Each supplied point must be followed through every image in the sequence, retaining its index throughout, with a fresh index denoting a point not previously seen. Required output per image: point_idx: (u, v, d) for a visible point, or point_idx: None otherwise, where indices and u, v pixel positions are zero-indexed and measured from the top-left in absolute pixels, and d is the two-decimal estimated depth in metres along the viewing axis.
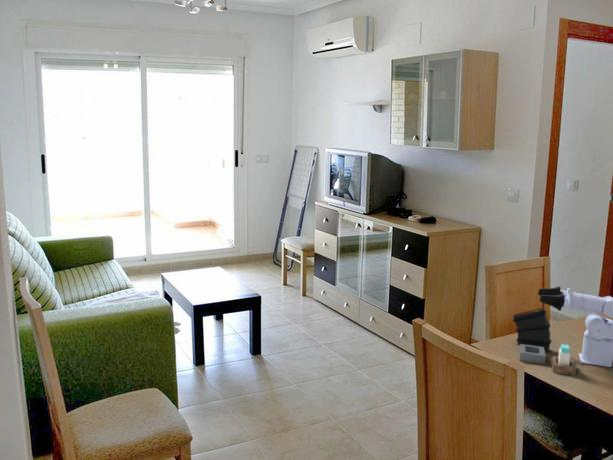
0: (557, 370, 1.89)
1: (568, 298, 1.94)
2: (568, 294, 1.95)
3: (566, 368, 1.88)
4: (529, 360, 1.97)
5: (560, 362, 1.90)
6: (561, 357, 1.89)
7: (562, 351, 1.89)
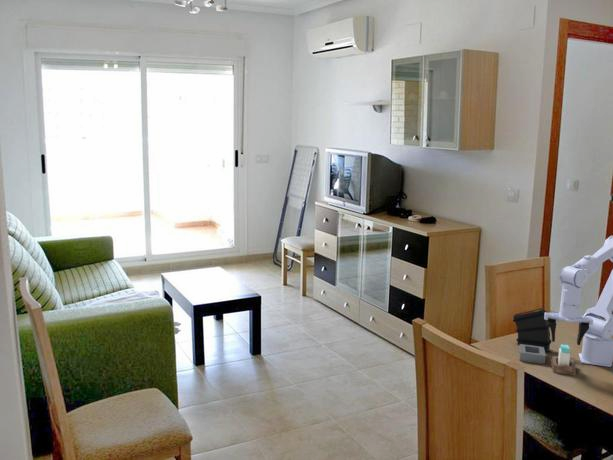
0: (557, 370, 1.89)
1: (583, 320, 1.85)
2: (576, 320, 1.85)
3: (566, 368, 1.88)
4: (529, 360, 1.97)
5: (560, 362, 1.90)
6: (561, 357, 1.89)
7: (562, 351, 1.89)
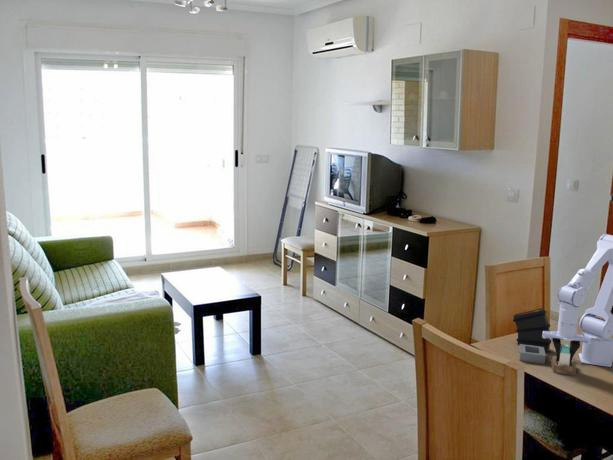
0: (557, 370, 1.89)
1: (580, 339, 1.87)
2: (574, 339, 1.87)
3: (566, 368, 1.88)
4: (529, 360, 1.97)
5: (560, 362, 1.90)
6: (561, 357, 1.89)
7: (562, 351, 1.89)
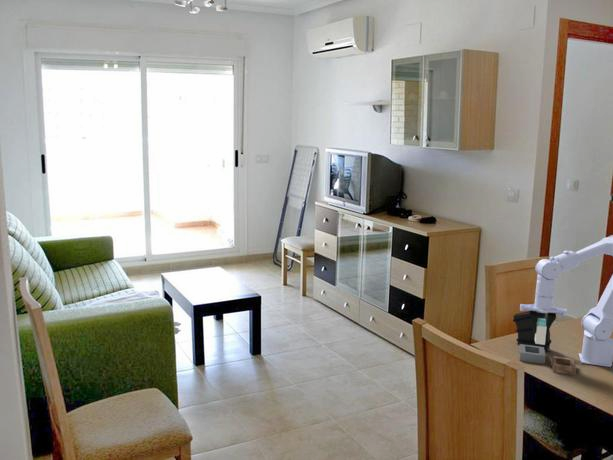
0: (557, 370, 1.89)
1: (556, 311, 1.92)
2: (550, 311, 1.92)
3: (566, 368, 1.88)
4: (529, 360, 1.97)
5: (537, 335, 1.95)
6: (538, 330, 1.95)
7: (539, 324, 1.94)
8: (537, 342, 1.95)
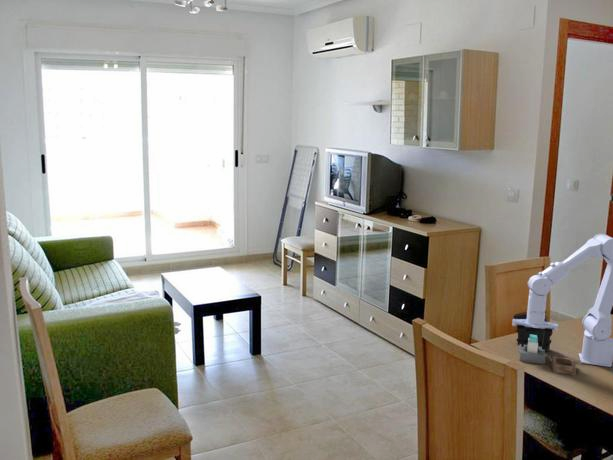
0: (557, 370, 1.89)
1: (548, 326, 1.95)
2: (541, 326, 1.95)
3: (566, 368, 1.88)
4: (529, 360, 1.97)
5: (528, 351, 1.98)
6: (529, 346, 1.98)
7: (530, 341, 1.98)
8: None
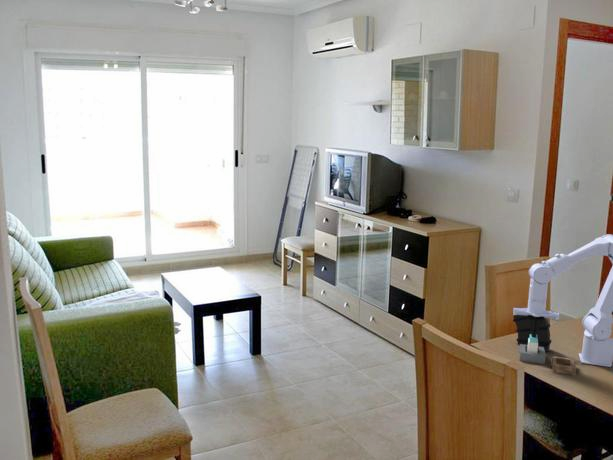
0: (557, 370, 1.89)
1: (549, 315, 1.94)
2: (543, 315, 1.94)
3: (566, 368, 1.88)
4: (529, 360, 1.97)
5: (528, 351, 1.98)
6: (529, 346, 1.98)
7: (530, 341, 1.98)
8: None
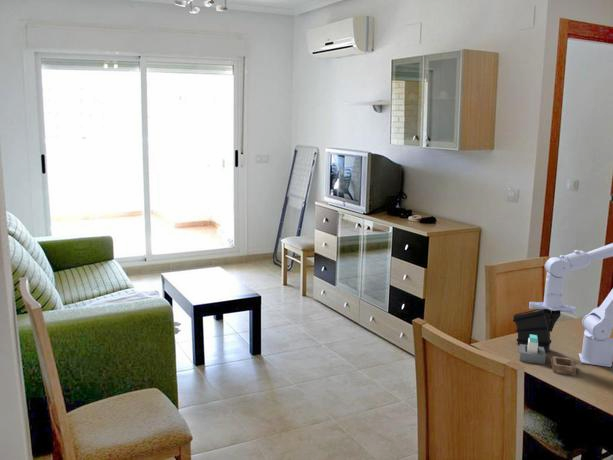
0: (557, 370, 1.89)
1: (565, 309, 1.93)
2: (559, 309, 1.93)
3: (566, 368, 1.88)
4: (529, 360, 1.97)
5: (528, 351, 1.98)
6: (529, 346, 1.98)
7: (530, 341, 1.98)
8: None
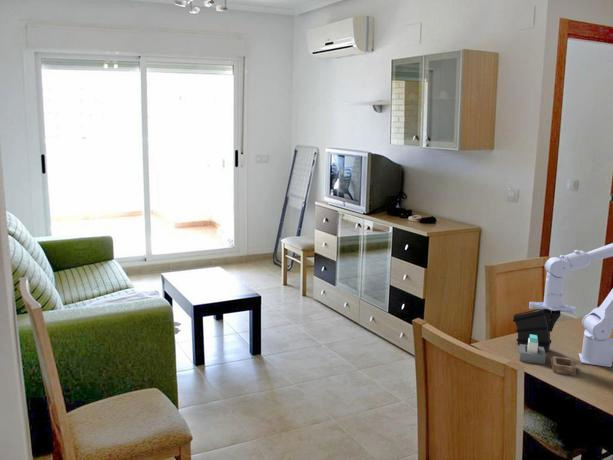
0: (557, 370, 1.89)
1: (565, 309, 1.93)
2: (559, 309, 1.93)
3: (566, 368, 1.88)
4: (529, 360, 1.97)
5: (528, 351, 1.98)
6: (529, 346, 1.98)
7: (530, 341, 1.98)
8: None
